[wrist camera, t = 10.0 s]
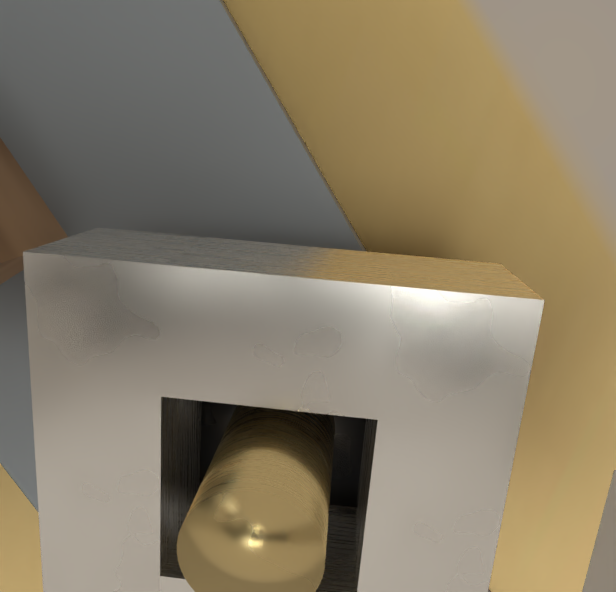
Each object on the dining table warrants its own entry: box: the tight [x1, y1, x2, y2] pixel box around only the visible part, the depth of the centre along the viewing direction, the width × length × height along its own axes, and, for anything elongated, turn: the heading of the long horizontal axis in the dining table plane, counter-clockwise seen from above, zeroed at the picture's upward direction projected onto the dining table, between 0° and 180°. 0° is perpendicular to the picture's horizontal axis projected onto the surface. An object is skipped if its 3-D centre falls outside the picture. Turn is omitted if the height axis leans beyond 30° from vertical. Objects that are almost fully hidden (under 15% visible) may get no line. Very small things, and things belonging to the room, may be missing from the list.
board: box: [0, 0, 366, 513], centre depth 17 cm, size 20×14×1 cm
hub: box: [177, 401, 366, 592], centre depth 13 cm, size 6×6×8 cm
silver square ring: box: [23, 228, 545, 592], centre depth 12 cm, size 9×9×3 cm
